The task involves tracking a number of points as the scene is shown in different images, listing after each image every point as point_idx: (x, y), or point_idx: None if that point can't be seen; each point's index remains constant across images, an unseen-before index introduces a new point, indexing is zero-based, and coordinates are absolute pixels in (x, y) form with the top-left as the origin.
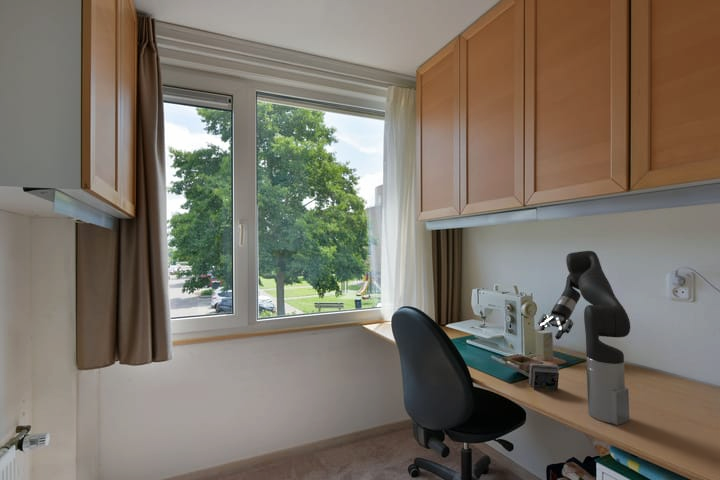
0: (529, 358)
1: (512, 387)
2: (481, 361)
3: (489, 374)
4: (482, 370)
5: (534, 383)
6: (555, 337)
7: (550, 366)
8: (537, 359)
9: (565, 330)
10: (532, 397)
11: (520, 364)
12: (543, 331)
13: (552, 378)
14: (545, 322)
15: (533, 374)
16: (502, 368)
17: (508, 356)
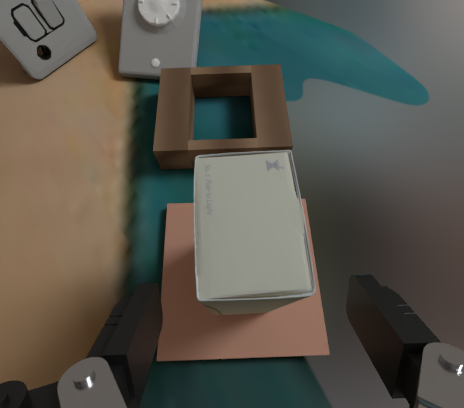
0: (218, 139)
1: (118, 4)
2: (327, 50)
3: (216, 10)
4: (251, 12)
5: (83, 38)
6: (156, 290)
7: None
8: None
9: (14, 395)
10: None
11: (187, 70)
12: (260, 225)
13: (22, 41)
14: (424, 400)
15: None
16: (239, 62)
17: (279, 87)
